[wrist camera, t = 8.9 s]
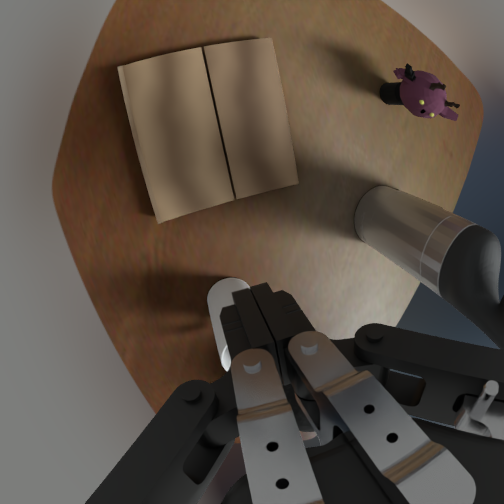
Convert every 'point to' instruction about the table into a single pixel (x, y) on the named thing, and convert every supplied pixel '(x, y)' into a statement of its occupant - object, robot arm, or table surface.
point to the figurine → (418, 94)
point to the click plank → (176, 133)
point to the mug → (217, 300)
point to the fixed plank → (251, 115)
